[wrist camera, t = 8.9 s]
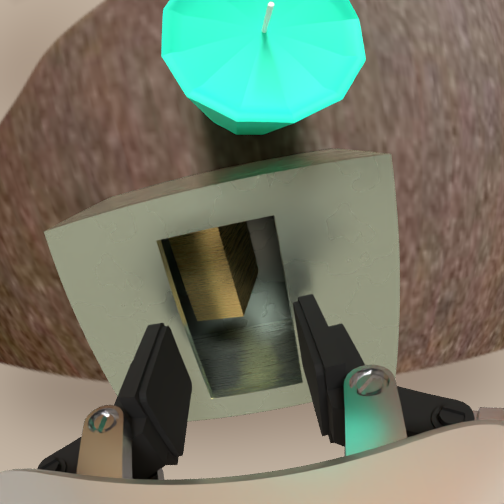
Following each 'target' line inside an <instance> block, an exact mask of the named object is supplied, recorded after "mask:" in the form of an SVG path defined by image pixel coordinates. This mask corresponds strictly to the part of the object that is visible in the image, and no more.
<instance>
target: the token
mask: <svg viewBox="0 0 504 504" xmlns="http://www.w3.org/2000/svg"><path fill="white" fill-rule="evenodd" d="M169 241H170V245H171V248H172V251H173V254H174V257H175V260H176V263H177V265H178V268H179V271H180V274H181V277H182V280H183V283H184V286H185V288H186V291H187V294H188V297H189V300H190V302H191V305H192V308H193V310H194V313H195V316H196V319H197V321H204V320H214V319H224V318H233V317H242V316H244V314H245V311H246V308H247V305H248V302H249V299H250V296H251V293H252V291H253V288H254V285H255V282H256V279H257V276H258V273H259V270H258V266H257V262H256V258H255V254H254V250H253V246H252V242H251V238H250V234H249V231H248V227H247V223H246V221H243V222H239V223H234V224H229V225H224V226H220V227H215V228H211V229H206V230H201V231H197V232H192V233H188V234H183V235H179V236H174V237H170V238H169Z"/></svg>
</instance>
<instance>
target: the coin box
mask: <svg viewBox="0 0 504 504" xmlns="http://www.w3.org/2000/svg"><path fill="white" fill-rule="evenodd" d="M243 221H246V223H247V227H248V231H249V234H250V238H251V242H252V246H253V250H254V254H255V258H256V262H257V266H258V270H259V273H258V276H257V279H256V282H255V285H254V288H253V291H252V293H251V296H250V299H249V302H248V305H247V308H246V311H245V314H244V316H242V317H233V318H224V319H214V320H204V321H197V319H196V316H195V313H194V310H193V308H192V305H191V302H190V300H189V297H188V294H187V291H186V288H185V286H184V283H183V280H182V277H181V274H180V271H179V268H178V265H177V263H176V260H175V257H174V254H173V251H172V248H171V245H170V241H169V238H170V237H174V236H179V235H183V234H188V233H192V232H197V231H201V230H206V229H211V228H215V227H220V226H224V225H229V224H234V223H239V222H243ZM44 233H45V236H46V239H47V242H48V245H49V248H50V251H51V254H52V257H53V260H54V263H55V265H56V268H57V271H58V274H59V276H60V279H61V281H62V284H63V286H64V289H65V291H66V294H67V296H68V299H69V301H70V303H71V306H72V308H73V310H74V313H75V315H76V317H77V319H78V322H79V324H80V326H81V328H82V330H83V332H84V334H85V337H86V339H87V341H88V343H89V345H90V347H91V349H92V351H93V353H94V355H95V357H96V359H97V360H98V362H99V364H100V366H101V368H102V370H103V372H104V374H105V375H106V377H107V379H108V381H109V383H110V384H111V386H112V388H113V390H114V391H115V393H116V395H117V396H118V394H119V391H120V389H121V386H122V384H123V381H124V379H125V377H126V374H127V372H128V369H129V367H130V364H131V363H132V361H133V359H134V356H135V354H136V352H137V349H138V347H139V345H140V342H141V340H142V338H143V335H144V333H145V331H146V328H147V326H148V325H151V324H158V323H164V325H165V326H169V327H170V328H171V331H172V333H173V336H174V339H175V341H176V344H177V346H178V349H179V352H180V354H181V357H182V359H183V362H184V364H185V366H186V369H187V371H188V374H189V376H190V379H191V382H192V393H191V400H190V407H189V414H188V421H198V420H207V419H215V418H224V417H232V416H238V415H246V414H251V413H258V412H264V411H269V410H275V409H280V408H285V407H290V406H295V405H300V404H305V403H309V402H313V401H312V398H311V394H310V390H309V387H308V383H307V380H306V376H305V373H304V369H303V365H302V359H301V353H300V346H299V340H298V334H297V327H296V321H295V315H294V309H293V302H296V301H298V297H300V296H305V295H309V294H313V295H314V297H315V299H316V301H317V303H318V305H319V307H320V310H321V312H322V314H323V316H324V318H325V320H326V322H327V324H328V326H332V325H337V324H341V323H342V324H343V325H344V327H345V328H346V330H347V332H348V334H349V336H350V338H351V339H352V341H353V343H354V345H355V347H356V349H357V350H358V352H359V354H360V356H361V358H362V360H363V362H364V363H365V365H379V366H383V367H385V368H387V369H389V370H390V371H391V372H392V373H393V375H394V377H395V376H396V365H397V352H398V335H399V309H400V261H399V235H398V218H397V205H396V193H395V183H394V174H393V166H392V158H391V154H387V153H378V152H368V151H357V150H345V149H325V150H319V151H312V152H306V153H300V154H294V155H289V156H283V157H277V158H272V159H267V160H262V161H256V162H251V163H246V164H242V165H237V166H232V167H227V168H223V169H218V170H214V171H210V172H205V173H201V174H197V175H192V176H188V177H184V178H180V179H176V180H172V181H168V182H164V183H161V184H157V185H153V186H149V187H146V188H142V189H138V190H135V191H131V192H128V193H124V194H121V195H117V196H114V197H111V198H108V199H106V200H104V201H102V202H100V203H98V204H96V205H94V206H92V207H90V208H88V209H86V210H84V211H82V212H80V213H78V214H76V215H74V216H72V217H70V218H69V219H67V220H65V221H63V222H61V223H59V224H57V225H55V226H54V227H52V228H50V229H48V230H46V231H44Z"/></svg>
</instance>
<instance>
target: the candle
mask: <svg viewBox="0 0 504 504" xmlns="http://www.w3.org/2000/svg"><path fill="white" fill-rule="evenodd" d="M161 56H162V58H163V59H164V61H165V62H166V64H167V66H168V67H169V69H170V70H171V72H172V74H173V75H174V77H175V79H176V80H177V82H178V83H179V85H180V87H181V88H182V90H183V91H184V93H185V95H186V96H187V97H188V98H189V99H190V100H191V101H192V102H193V103H194V104H195V105H196V106H197V107H198V108H199V109H200V110H201V111H202V112H203V113H204V114H205V115H206V116H207V117H208V118H209V119H210V120H212V121H213V122H214V123H216V124H217V125H219V126H221V127H223V128H225V129H227V130H229V131H231V132H232V133H234V134H236V135H264V134H267V133H269V132H272V131H274V130H277V129H280V128H282V127H285V126H288V125H291V124H293V123H296V122H298V121H300V120H302V119H303V118H305V117H307V116H309V115H311V114H313V113H315V112H317V111H319V110H321V109H323V108H326V107H328V106H330V105H332V104H334V103H336V102H338V101H340V100H342V99H343V98H344V96H345V94H346V93H347V91H348V89H349V88H350V86H351V84H352V83H353V81H354V79H355V77H356V76H357V74H358V72H359V71H360V69H361V67H362V66H363V64H364V62H365V60H366V57H365V51H364V45H363V39H362V33H361V27H360V22H359V18H358V16H357V14H356V12H355V10H354V9H353V7H352V5H351V3H350V1H349V0H170V1H169V2H168V3H167V5H166V6H165V7H164V9H163V23H162V54H161Z"/></svg>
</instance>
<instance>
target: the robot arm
mask: <svg viewBox="0 0 504 504" xmlns="http://www.w3.org/2000/svg"><path fill="white" fill-rule="evenodd" d="M293 309H294V315H295V321H296V327H297V334H298V340H299V346H300V353H301V359H302V365H303V369H304V373H305V376H306V380H307V383H308V387H309V390H310V394H311V398H312V401H313V404H314V408H315V412H316V416H317V419H318V423H319V426H320V430H321V434H322V436H325V435H328V436H329V439H330V442H331V443H337V444H339V445H342V446H344V447H345V456H344V457H340V458H336V459H333V460H328V461H324V462H320V463H315V464H311V465H306V466H301V467H296V468H290V469H285V470H279V471H272V472H265V473H258V474H250V475H242V476H233V477H222V478H207V479H184V480H164V474H163V470H162V467H164V466H165V465H177V463H178V457H179V456H182V455H183V451H184V443H185V435H186V428H187V421H188V414H189V407H190V400H191V393H192V382H191V379H190V376H189V374H188V371H187V369H186V366H185V364H184V362H183V359H182V357H181V354H180V352H179V349H178V346H177V344H176V341H175V339H174V336H173V333H172V331H171V328H170V327H169V326H165V325H164V323H158V324H151V325H148V326H147V328H146V331H145V333H144V335H143V338H142V340H141V342H140V345H139V347H138V349H137V352H136V354H135V356H134V359H133V361H132V363H131V364H130V367H129V369H128V372H127V374H126V377H125V379H124V381H123V384H122V386H121V389H120V391H119V394H118V397H117V399H116V402H115V404H114V405H104V406H101V407H99V408H97V409H95V410H93V411H92V412H91V413H90V414H89V415H88V416H87V418H86V419H85V421H84V425H83V431H82V437H80V438H78V439H77V440H75V441H74V442H72V443H70V444H69V445H67V446H65V447H64V448H62V449H60V450H59V451H57V452H55V453H54V454H52V455H50V456H49V457H47V458H45V459H44V460H43V461H42V462H41V463H40V465H39V466H38V469H13V470H7V471H3V472H0V504H504V408H484V407H480V408H479V411H472V409H471V408H470V407H469V406H468V405H466V404H465V403H464V402H461V401H458V400H454V399H449V398H444V397H440V396H436V395H431V394H426V393H422V392H418V391H414V390H410V389H406V388H402V387H398V386H397V385H396V381H395V377H394V375H393V373H392V372H391V371H390V370H389V369H387V368H385V367H383V366H379V365H365V363H364V362H363V360H362V358H361V356H360V354H359V352H358V350H357V349H356V347H355V345H354V343H353V341H352V339H351V338H350V336H349V334H348V332H347V330H346V328H345V327H344V325H343V324H342V323H341V324H337V325H332V326H328V324H327V322H326V320H325V318H324V316H323V314H322V312H321V310H320V307H319V305H318V303H317V301H316V299H315V297H314V295H313V294H309V295H305V296H300V297H298V301H296V302H293Z"/></svg>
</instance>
